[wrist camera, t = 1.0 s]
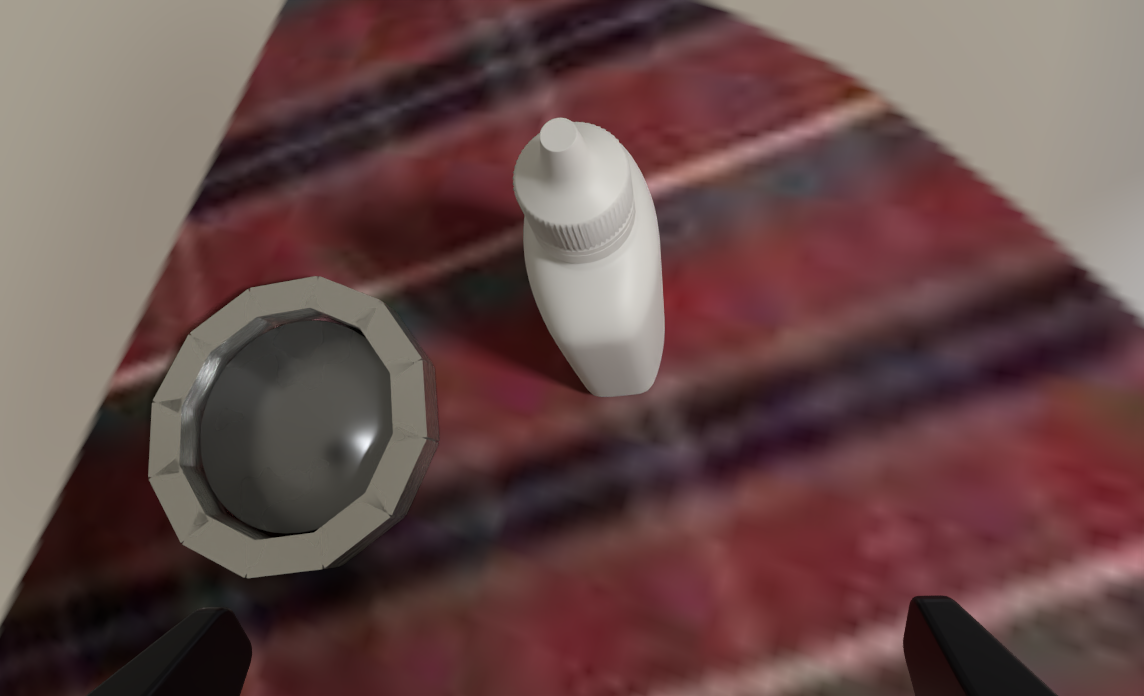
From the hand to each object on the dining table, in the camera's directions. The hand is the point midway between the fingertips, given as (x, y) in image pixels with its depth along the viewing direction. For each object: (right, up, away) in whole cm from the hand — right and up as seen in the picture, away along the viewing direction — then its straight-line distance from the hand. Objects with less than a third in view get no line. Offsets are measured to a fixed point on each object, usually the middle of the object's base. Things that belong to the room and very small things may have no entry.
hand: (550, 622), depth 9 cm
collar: (-10, +1, +16) cm, 18 cm away
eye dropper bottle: (+2, +5, +15) cm, 16 cm away
